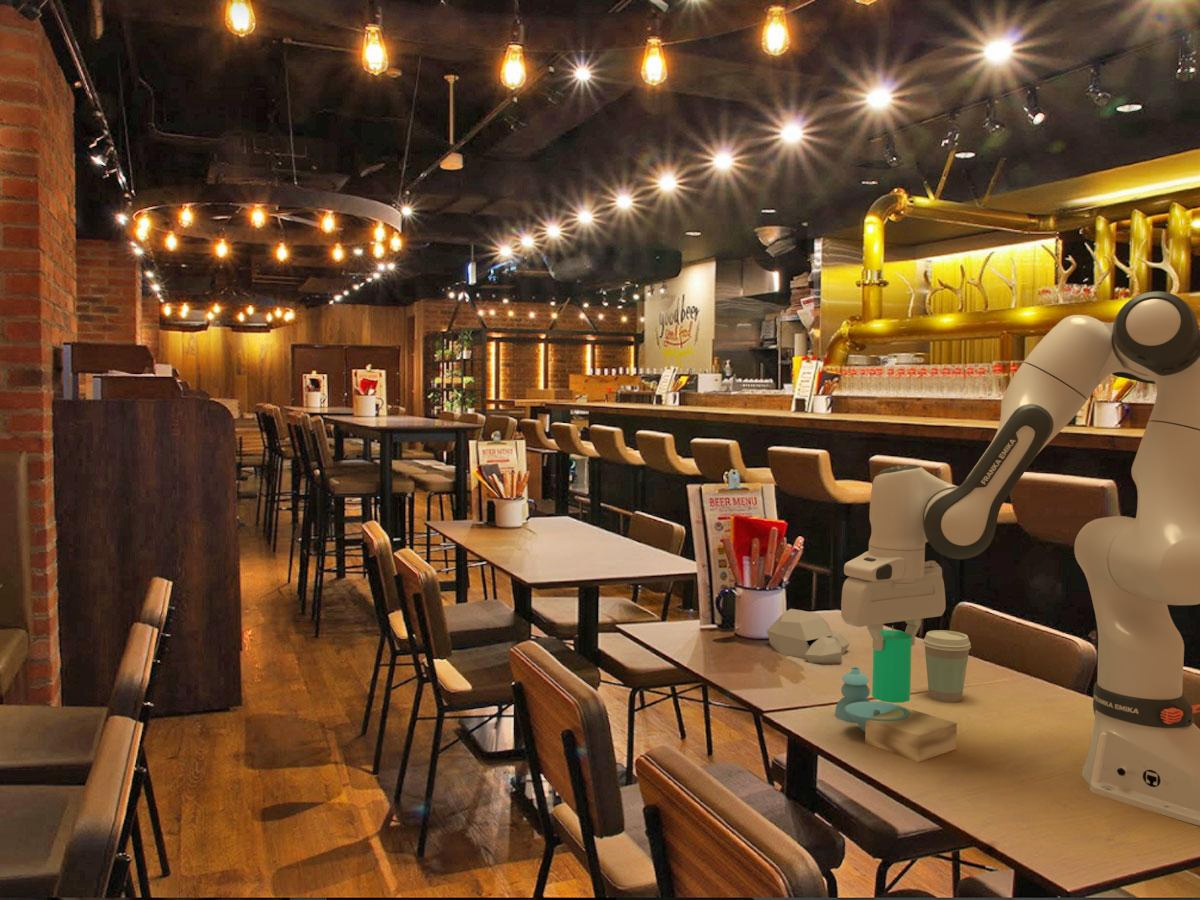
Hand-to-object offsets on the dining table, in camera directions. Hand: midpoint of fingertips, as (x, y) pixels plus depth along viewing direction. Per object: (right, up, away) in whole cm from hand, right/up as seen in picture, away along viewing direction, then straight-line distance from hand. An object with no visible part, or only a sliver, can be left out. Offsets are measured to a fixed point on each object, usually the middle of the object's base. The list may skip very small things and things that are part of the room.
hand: (893, 647), depth 164 cm
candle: (0, -9, +1) cm, 9 cm away
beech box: (+2, -16, -4) cm, 16 cm away
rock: (-3, -13, +54) cm, 56 cm away
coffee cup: (+17, -14, +24) cm, 33 cm away
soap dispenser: (-3, -15, +5) cm, 16 cm away
